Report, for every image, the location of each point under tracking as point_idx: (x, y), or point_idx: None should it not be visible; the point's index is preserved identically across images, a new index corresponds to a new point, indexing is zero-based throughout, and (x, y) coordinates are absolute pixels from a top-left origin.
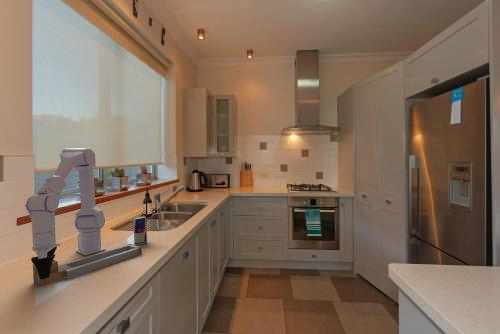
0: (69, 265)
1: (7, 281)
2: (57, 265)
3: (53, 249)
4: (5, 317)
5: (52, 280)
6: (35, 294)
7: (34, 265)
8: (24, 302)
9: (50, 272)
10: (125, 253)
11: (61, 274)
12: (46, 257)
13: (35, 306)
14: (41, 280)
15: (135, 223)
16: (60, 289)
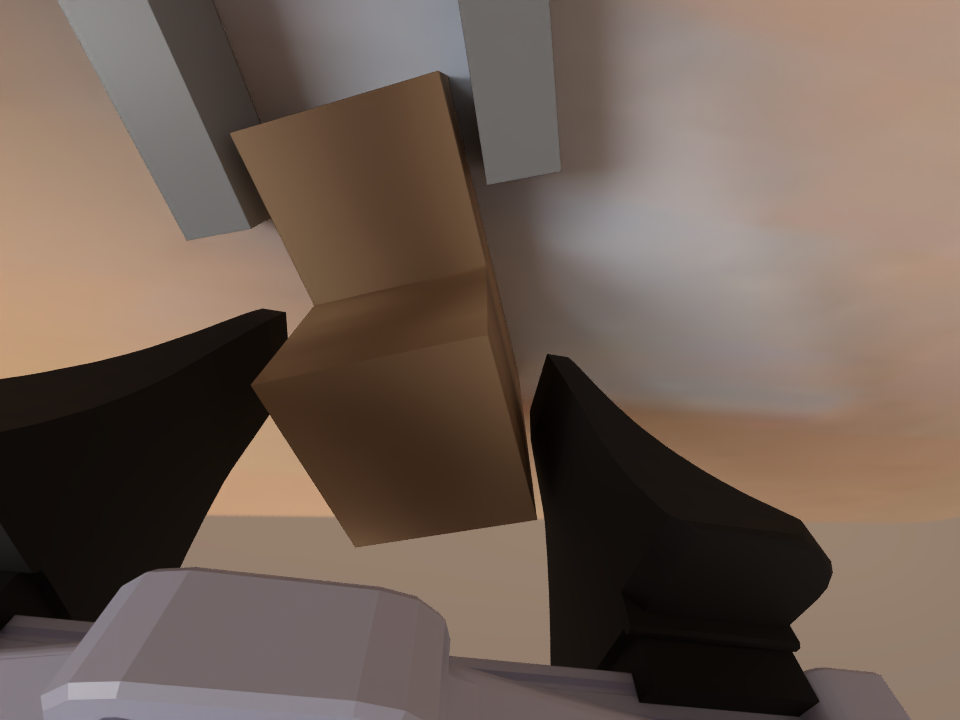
0: (199, 71)
1: (224, 505)
2: (488, 312)
3: (52, 470)
4: (817, 519)
5: (499, 296)
6: (651, 406)
7: (406, 538)
8: (719, 457)
9: (505, 354)
10: None
11: (479, 221)
12: (788, 646)
13: (862, 420)
14: (519, 393)
15: None
16: (755, 259)
